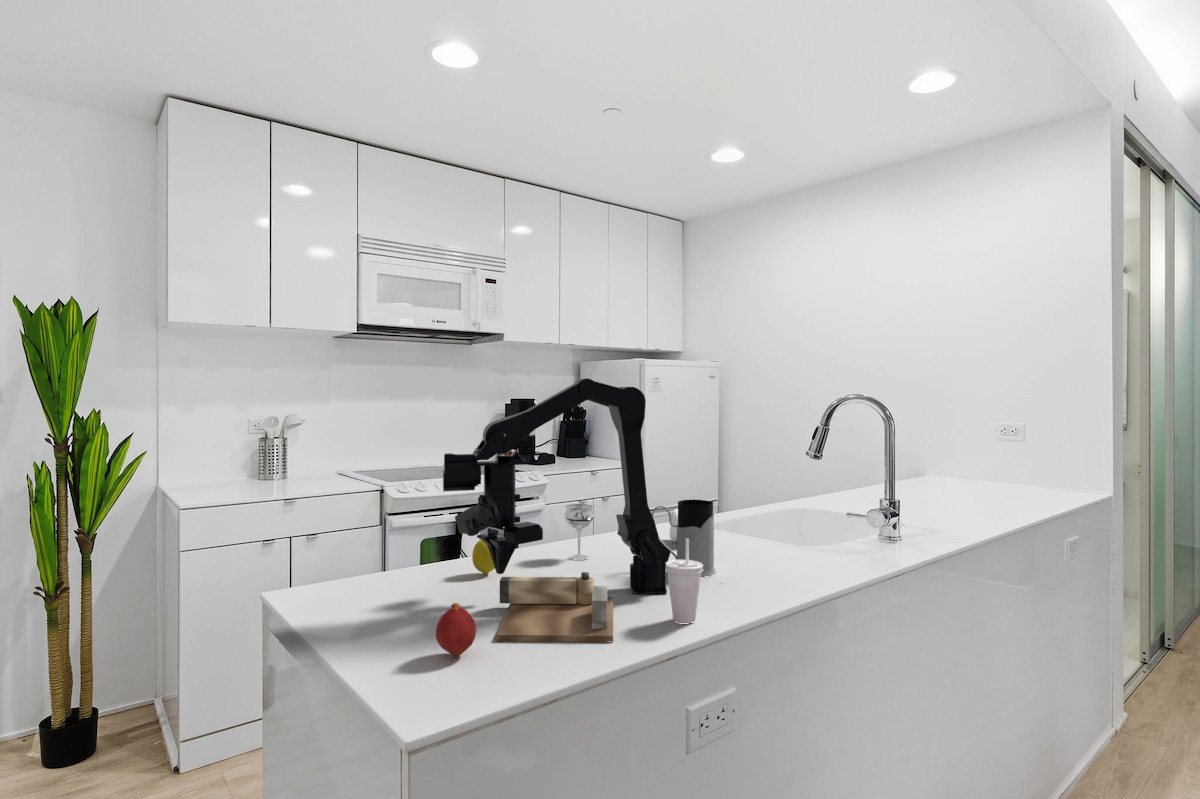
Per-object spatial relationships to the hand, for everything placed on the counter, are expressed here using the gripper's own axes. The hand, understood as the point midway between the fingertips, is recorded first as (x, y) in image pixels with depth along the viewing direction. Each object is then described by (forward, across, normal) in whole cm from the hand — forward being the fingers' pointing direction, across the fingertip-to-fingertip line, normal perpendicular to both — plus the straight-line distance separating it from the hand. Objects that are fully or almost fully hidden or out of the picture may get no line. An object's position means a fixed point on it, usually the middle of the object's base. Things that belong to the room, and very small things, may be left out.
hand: (500, 573), depth 126 cm
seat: (+5, +16, +1) cm, 16 cm away
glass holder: (+5, +10, +41) cm, 42 cm away
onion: (+5, +17, -20) cm, 27 cm away
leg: (+4, +9, +4) cm, 11 cm away
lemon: (+5, -17, +8) cm, 20 cm away
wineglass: (+5, -14, +32) cm, 36 cm away
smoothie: (+5, +30, +16) cm, 35 cm away
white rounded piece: (+6, -6, +62) cm, 63 cm away
